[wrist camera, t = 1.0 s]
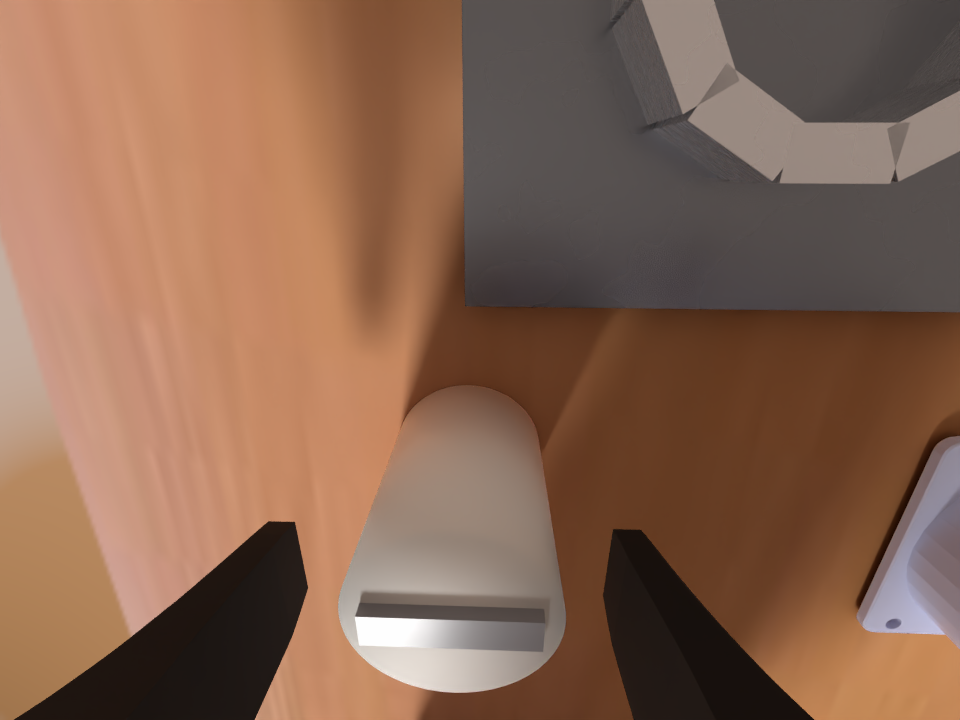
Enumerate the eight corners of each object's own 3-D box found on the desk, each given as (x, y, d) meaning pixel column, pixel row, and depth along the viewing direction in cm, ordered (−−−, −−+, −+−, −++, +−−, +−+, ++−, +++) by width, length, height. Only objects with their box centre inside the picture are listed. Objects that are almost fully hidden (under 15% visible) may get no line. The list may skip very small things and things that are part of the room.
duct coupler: (543, 386, 14) (578, 549, 8) (535, 505, 15) (559, 711, 9) (394, 383, 14) (318, 541, 8) (403, 502, 15) (346, 703, 10)
